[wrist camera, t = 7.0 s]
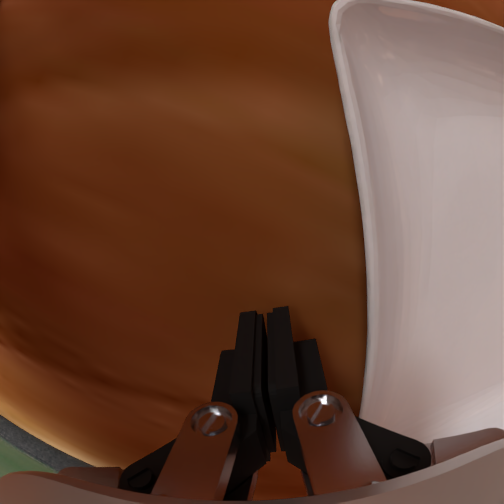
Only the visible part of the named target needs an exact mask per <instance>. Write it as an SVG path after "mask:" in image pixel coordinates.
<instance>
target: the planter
mask: <svg viewBox="0 0 504 504" xmlns="http://www.w3.org/2000/svg"><path fill="white" fill-rule="evenodd" d="M66 467H94V466H92V465H90V464H87V463H85V462H83V461H81V460H78V459H76V458H74V457H72V456H70V455H68V454H66V453H64V452H62V451H60V450H58V449H56V448H54V447H52V446H50V445H49V444H47V443H45V442H43V441H41V440H40V439H38V438H36V437H34V436H33V435H31V434H29V433H28V432H26V431H24V430H23V429H21V428H19V427H18V426H16V425H15V424H13V423H12V422H10V421H9V420H7V419H6V418H4V417H3V416H1V415H0V478H1V477H2V476H4V475H6V474H8V473H12V472H18V471H42V472H49V473H55V474H58V473H59V471H60V470H62V469H64V468H66Z"/></svg>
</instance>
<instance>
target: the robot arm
mask: <svg viewBox="0 0 504 504" xmlns="http://www.w3.org/2000/svg"><path fill="white" fill-rule="evenodd" d="M276 430H277V434H278V439H279V443H280V448H281V451H286V456H287V460H288V462H289V463H291V464H293V465H294V466H296V467H298V468H299V469H301V475H302V478H303V482H304V485H305V489H306V492H307V497H299V498H289V499H277V500H260V501H252V500H253V495H254V491H255V487H256V482H257V478H258V470H259V469H260V468H261V467H262V466H264V465H265V464H266V461H270V452H276ZM0 504H504V430H502V429H499V428H496V427H495V428H487V429H483V430H479V431H475V432H470V433H466V434H461V435H456V436H451V437H445V438H439V439H433V441H432V443H427V444H423V443H422V442H420V441H418V440H415V439H412V438H410V437H407V436H404V435H401V434H399V433H396V432H393V431H391V430H388V429H386V428H383V427H381V426H378V425H376V424H373V423H371V422H368V421H366V420H363V419H361V418H359V417H356V416H354V414H353V412H352V410H351V408H350V406H349V404H348V402H347V401H346V399H345V398H344V397H343V396H341V395H340V394H338V393H336V392H332V391H328V390H327V385H326V381H325V377H324V372H323V368H322V364H321V360H320V355H319V351H318V347H317V343H316V339H310V340H303V341H297V342H293V338H292V331H291V323H290V316H289V309H288V306H285V307H278V308H273V312H272V313H267V334H266V328H265V323H264V318H263V314H257V312H256V311H249V312H241V313H240V317H239V324H238V331H237V339H236V346H235V349H234V350H224V351H222V352H221V355H220V360H219V365H218V370H217V375H216V380H215V385H214V390H213V395H212V400H211V402H208V403H205V404H202V405H200V406H198V407H196V408H194V409H193V410H192V411H191V412H190V413H189V415H188V416H187V417H186V419H185V422H184V424H183V426H182V428H181V430H180V432H179V435H178V437H177V438H176V439H174V440H173V441H171V442H169V443H168V444H166V445H164V446H163V447H161V448H159V449H158V450H156V451H154V452H153V453H151V454H149V455H147V456H146V457H144V458H142V459H140V460H139V461H137V462H135V463H133V464H131V465H130V466H129V467H127V468H126V469H125V470H122V469H121V468H120V467H66V468H64V469H62V470H60V471H59V473H58V474H55V473H49V472H42V471H18V472H12V473H8V474H6V475H4V476H2V477H1V478H0Z"/></svg>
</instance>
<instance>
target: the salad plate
mask: <svg viewBox="0 0 504 504" xmlns="http://www.w3.org/2000/svg"><path fill="white" fill-rule="evenodd" d="M329 31H330V40H331V46H332V50H333V56H334V61H335V66H336V71H337V77H338V82H339V87H340V92H341V97H342V102H343V107H344V112H345V118H346V123H347V128H348V132H349V137H350V142H351V148H352V154H353V160H354V166H355V172H356V178H357V185H358V191H359V198H360V206H361V213H362V221H363V231H364V243H365V258H366V275H367V349H366V364H365V375H364V385H363V394H362V402H361V408H360V413H359V418H361V419H363V420H366V421H368V422H371V423H373V424H376V425H378V426H381V427H383V428H386V429H388V430H391V431H393V432H396V433H399V434H401V435H404V436H407V437H410V438H412V439H415V440H418V441H420V442H422V443H423V444H427V443H432V441H433V439H439V438H445V437H451V436H456V435H461V434H466V433H470V432H475V431H479V430H483V429H487V428H495V427H496V428H499V429H502V430H504V28H503V27H501V26H498V25H496V24H493V23H491V22H488V21H485V20H483V19H480V18H477V17H474V16H471V15H468V14H465V13H462V12H458V11H455V10H451V9H448V8H444V7H440V6H436V5H432V4H428V3H423V2H417V1H411V0H337V1H335V2H334V4H333V5H332V8H331V12H330V17H329Z"/></svg>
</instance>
